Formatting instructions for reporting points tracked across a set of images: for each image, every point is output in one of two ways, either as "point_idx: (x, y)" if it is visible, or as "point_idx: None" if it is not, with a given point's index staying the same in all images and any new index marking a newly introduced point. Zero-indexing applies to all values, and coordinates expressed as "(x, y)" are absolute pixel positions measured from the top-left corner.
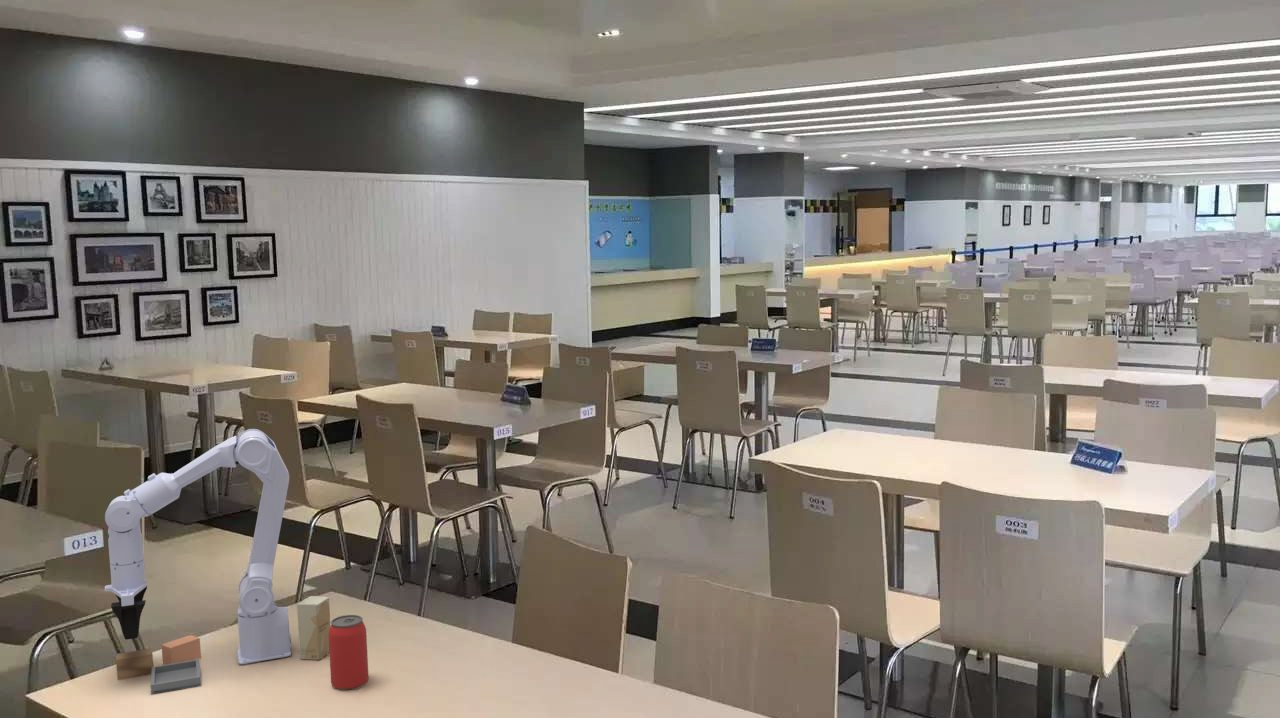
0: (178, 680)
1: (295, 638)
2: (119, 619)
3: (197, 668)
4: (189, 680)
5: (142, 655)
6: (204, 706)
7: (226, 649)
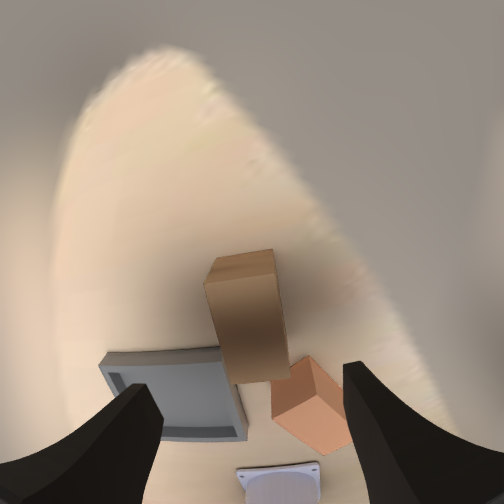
0: None
1: (336, 498)
2: (53, 448)
3: (186, 439)
4: None
5: (225, 362)
6: (71, 417)
7: None
